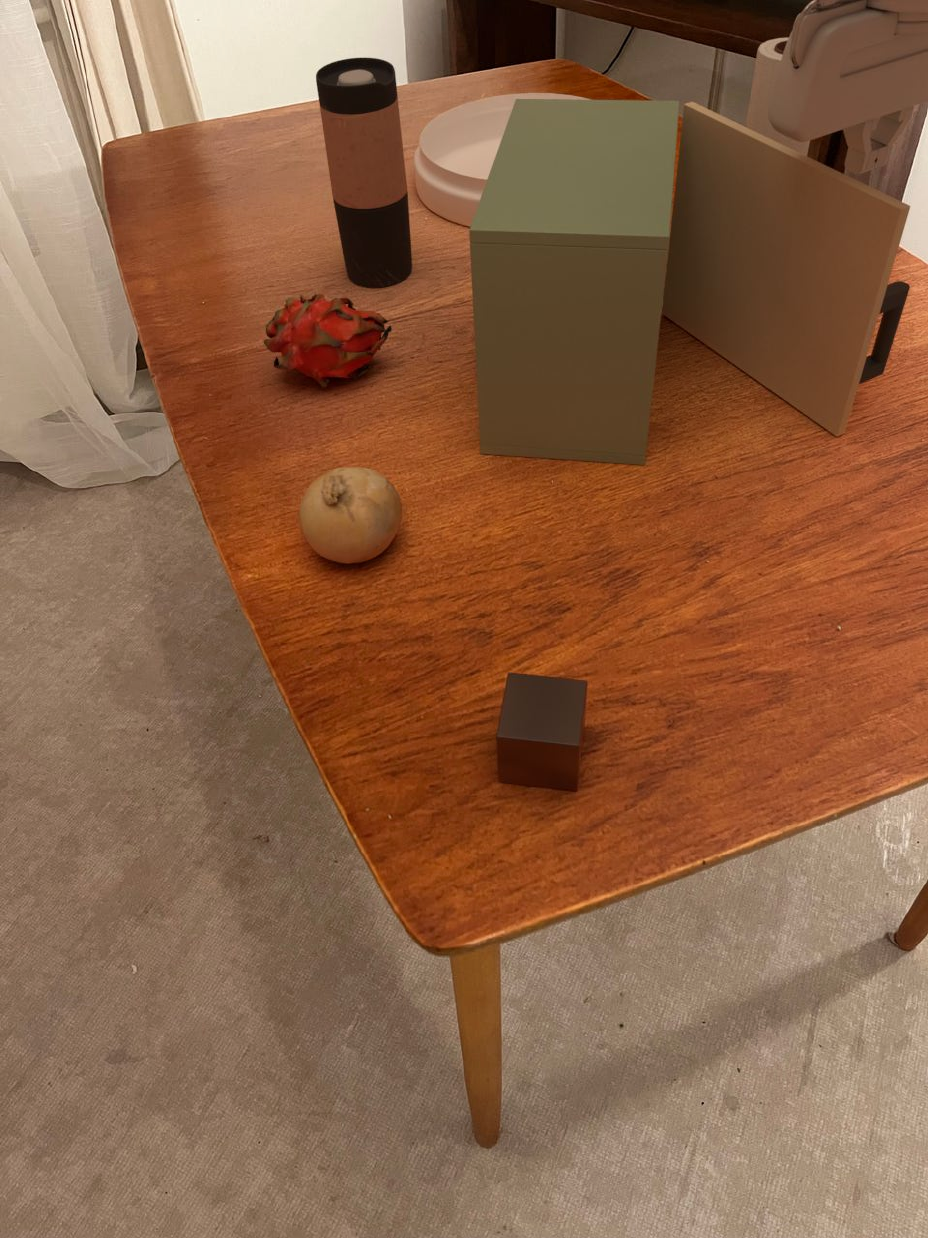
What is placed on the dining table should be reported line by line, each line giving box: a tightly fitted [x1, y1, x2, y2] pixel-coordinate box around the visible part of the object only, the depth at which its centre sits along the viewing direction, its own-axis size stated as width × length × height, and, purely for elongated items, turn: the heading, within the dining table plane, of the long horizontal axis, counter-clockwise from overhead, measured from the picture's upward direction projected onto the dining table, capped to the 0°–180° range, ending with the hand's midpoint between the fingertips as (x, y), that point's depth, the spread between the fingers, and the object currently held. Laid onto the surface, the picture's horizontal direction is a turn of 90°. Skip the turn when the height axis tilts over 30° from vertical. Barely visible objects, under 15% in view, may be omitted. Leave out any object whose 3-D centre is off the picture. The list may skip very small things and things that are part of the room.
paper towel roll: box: [745, 37, 811, 157], centre depth 94 cm, size 7×6×21 cm
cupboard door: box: [661, 101, 911, 438], centre depth 84 cm, size 7×24×20 cm, turn 30°
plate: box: [413, 92, 593, 228], centre depth 117 cm, size 27×27×6 cm
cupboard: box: [468, 99, 681, 466], centre depth 84 cm, size 14×24×20 cm, turn 170°
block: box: [495, 672, 589, 792], centre depth 61 cm, size 5×5×5 cm
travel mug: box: [315, 57, 413, 288], centre depth 99 cm, size 8×8×20 cm
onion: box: [298, 466, 403, 565], centre depth 75 cm, size 8×8×7 cm
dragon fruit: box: [262, 293, 393, 388], centre depth 91 cm, size 8×8×12 cm
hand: (864, 167), depth 78 cm, fingers closed
